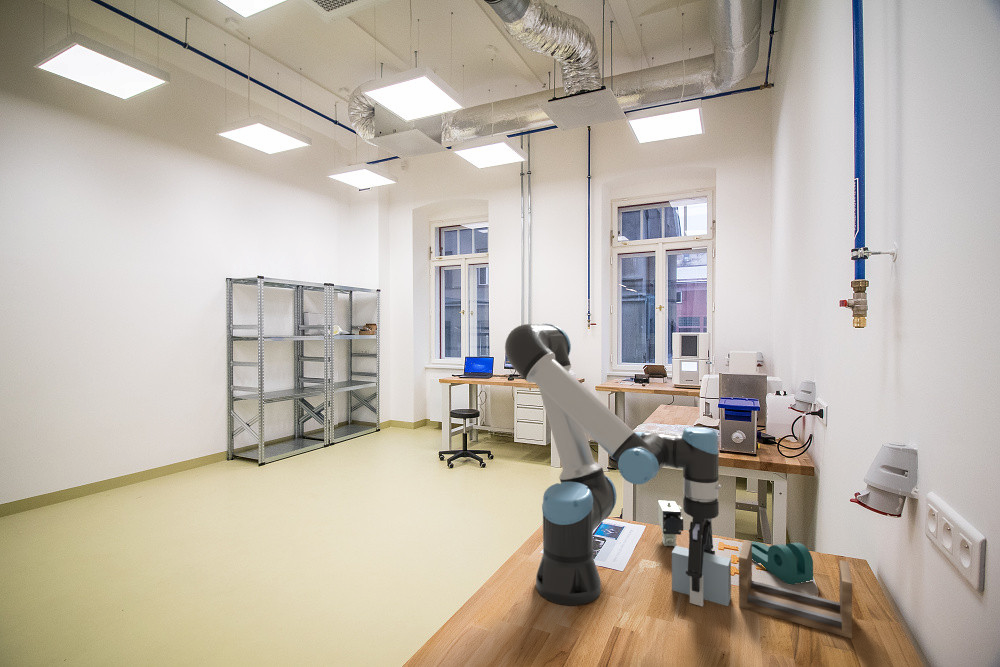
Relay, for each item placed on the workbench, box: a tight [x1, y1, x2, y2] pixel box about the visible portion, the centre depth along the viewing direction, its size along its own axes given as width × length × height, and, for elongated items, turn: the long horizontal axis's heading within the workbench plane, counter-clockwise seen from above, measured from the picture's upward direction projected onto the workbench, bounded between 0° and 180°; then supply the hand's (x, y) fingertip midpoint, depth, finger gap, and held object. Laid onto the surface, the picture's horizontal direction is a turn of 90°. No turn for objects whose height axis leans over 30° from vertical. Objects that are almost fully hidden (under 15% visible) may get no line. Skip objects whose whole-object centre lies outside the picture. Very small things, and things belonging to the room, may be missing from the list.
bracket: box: [752, 541, 814, 585], centre depth 122 cm, size 18×7×8 cm, turn 11°
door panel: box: [671, 545, 732, 607], centre depth 109 cm, size 12×4×9 cm, turn 57°
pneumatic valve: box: [657, 499, 684, 548], centre depth 134 cm, size 6×12×12 cm, turn 170°
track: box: [738, 539, 853, 639], centre depth 103 cm, size 20×10×11 cm, turn 57°
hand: (701, 592), depth 109 cm, fingers open, 10 cm apart
